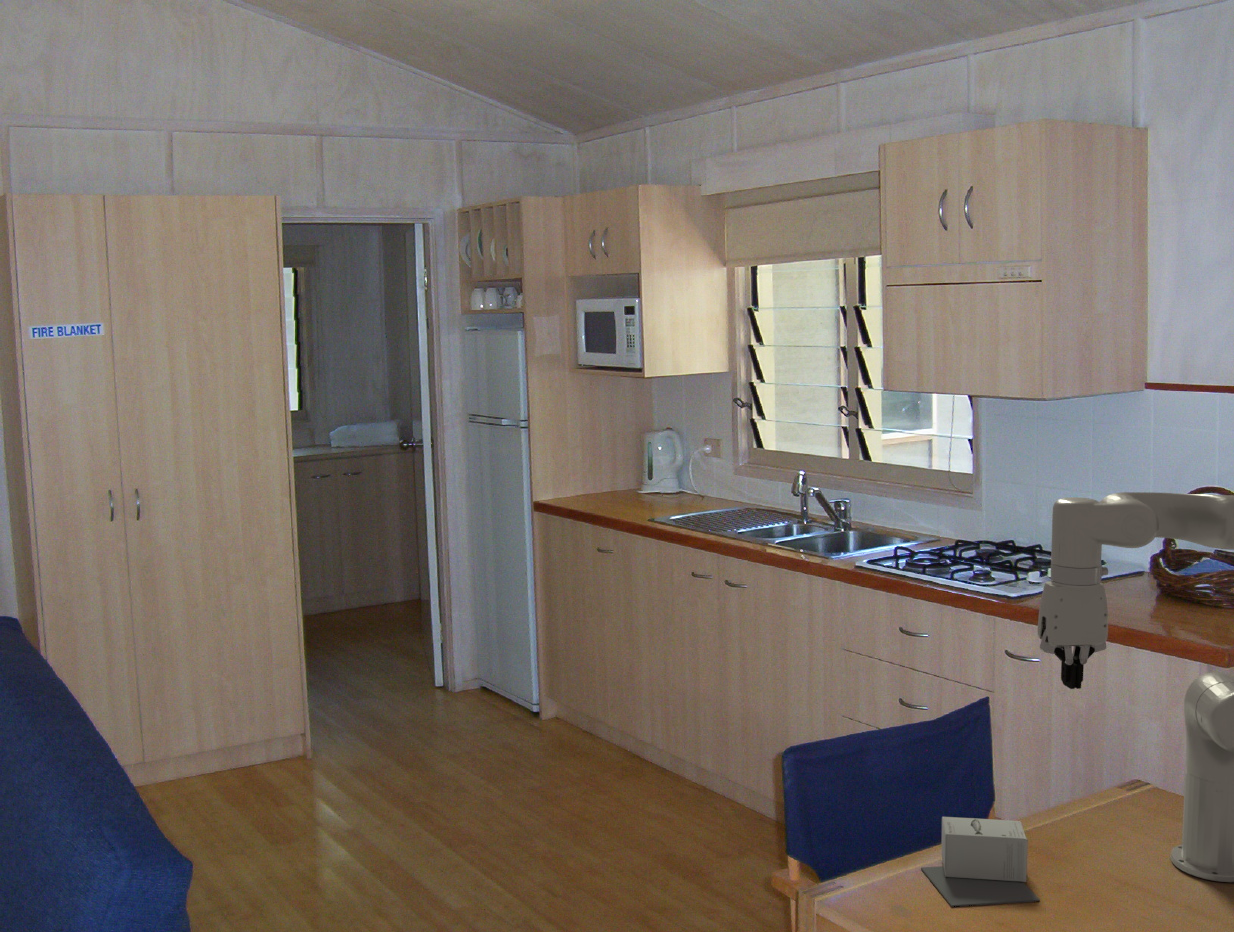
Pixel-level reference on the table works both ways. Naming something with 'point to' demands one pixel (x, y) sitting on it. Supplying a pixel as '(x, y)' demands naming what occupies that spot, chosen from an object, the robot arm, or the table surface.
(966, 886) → the mat
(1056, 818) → the table surface
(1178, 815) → the table surface
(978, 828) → the supplement box
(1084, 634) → the robot arm
